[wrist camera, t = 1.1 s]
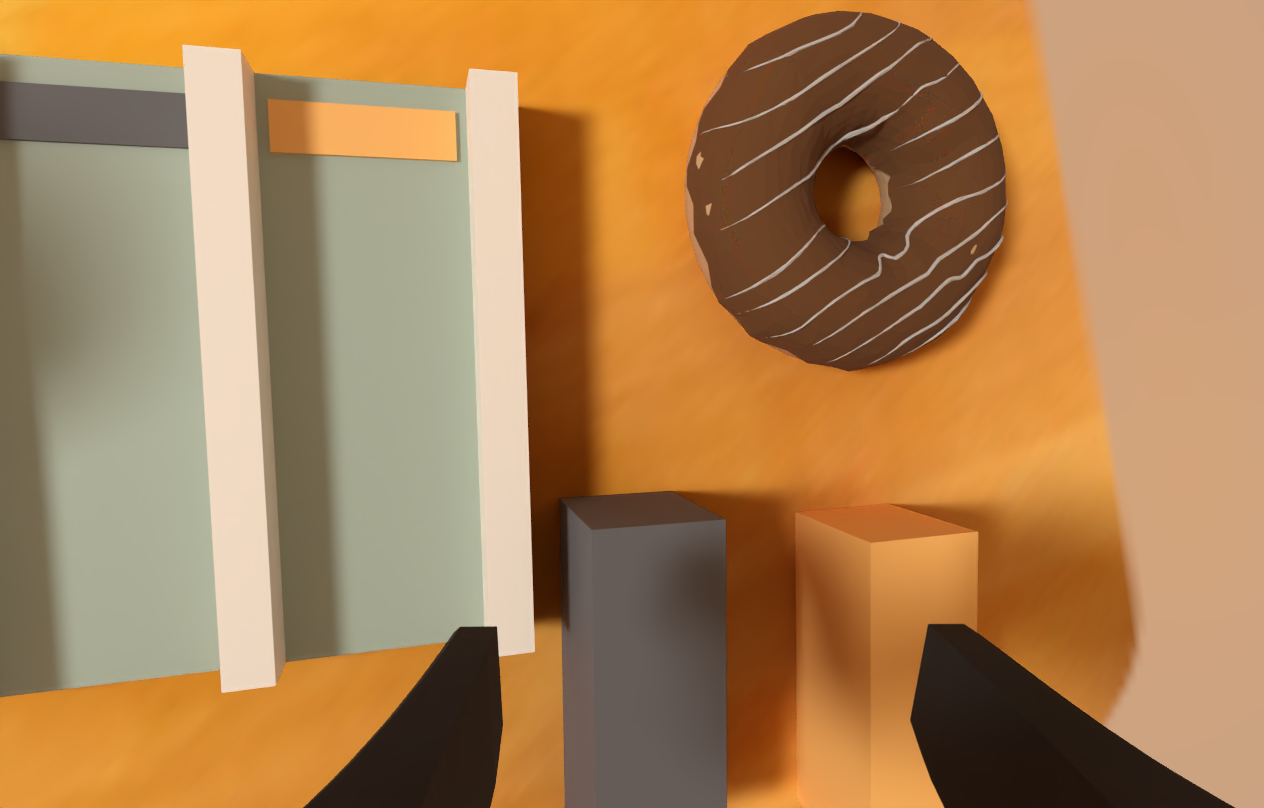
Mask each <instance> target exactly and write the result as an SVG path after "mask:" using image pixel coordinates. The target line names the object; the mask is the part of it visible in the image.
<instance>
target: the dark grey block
mask: <svg viewBox="0 0 1264 808" xmlns="http://www.w3.org/2000/svg"><path fill="white" fill-rule="evenodd" d="M559 507H560V561H561V615H562V669H563V723H564V777H565V808H727V689H726V519H724V518H722V517H720V516H718V515H716V514H715V513H713V512H711V511H709V510H707V509H705V508H703V507H701V506H699V505H697V504H696V503H694V502H692V501H690V500H688V499H686V498H684V497H682V496H680V495H678V494H676V493H675V492H673V491H662V492H647V493H632V494H616V495H601V496H586V497H571V498H559Z"/></svg>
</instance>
